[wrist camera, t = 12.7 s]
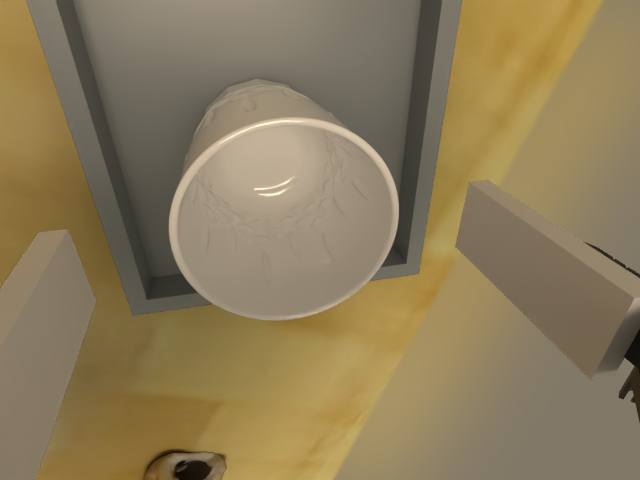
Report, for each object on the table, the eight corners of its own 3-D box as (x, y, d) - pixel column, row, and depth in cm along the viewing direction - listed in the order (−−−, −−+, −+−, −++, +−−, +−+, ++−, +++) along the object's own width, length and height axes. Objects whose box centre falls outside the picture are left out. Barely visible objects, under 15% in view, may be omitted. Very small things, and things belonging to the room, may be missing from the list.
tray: (140, 284, 26) (132, 315, 23) (33, -64, 16) (1, -75, 14) (401, 249, 29) (418, 274, 27) (439, -56, 20) (472, -64, 17)
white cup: (213, 37, 19) (213, 71, 10) (355, 103, 22) (440, 170, 14) (168, 182, 22) (141, 298, 14) (297, 222, 25) (339, 336, 17)
